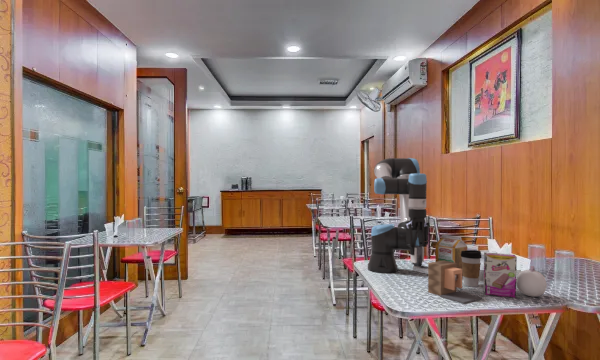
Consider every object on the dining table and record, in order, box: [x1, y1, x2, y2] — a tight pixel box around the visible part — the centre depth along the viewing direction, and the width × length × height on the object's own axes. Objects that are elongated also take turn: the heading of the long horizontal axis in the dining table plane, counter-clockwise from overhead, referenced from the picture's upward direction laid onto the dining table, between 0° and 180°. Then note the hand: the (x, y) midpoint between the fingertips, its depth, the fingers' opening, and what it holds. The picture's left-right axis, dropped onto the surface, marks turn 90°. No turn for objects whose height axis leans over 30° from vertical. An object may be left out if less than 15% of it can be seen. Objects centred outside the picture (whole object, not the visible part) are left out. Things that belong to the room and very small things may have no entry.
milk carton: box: [434, 234, 468, 277], centre depth 181 cm, size 11×11×19 cm
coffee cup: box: [461, 249, 483, 288], centre depth 161 cm, size 8×8×15 cm
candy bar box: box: [483, 251, 518, 299], centre depth 146 cm, size 11×5×16 cm, turn 71°
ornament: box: [516, 265, 548, 298], centre depth 145 cm, size 10×10×12 cm
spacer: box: [444, 267, 463, 290], centre depth 145 cm, size 4×6×8 cm
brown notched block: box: [427, 260, 458, 297], centre depth 149 cm, size 6×10×12 cm, turn 122°
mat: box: [439, 290, 483, 305], centre depth 142 cm, size 10×12×1 cm
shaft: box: [411, 245, 458, 281], centre depth 153 cm, size 21×4×11 cm, turn 32°
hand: (417, 261), depth 160 cm, fingers closed on shaft, 4 cm apart
